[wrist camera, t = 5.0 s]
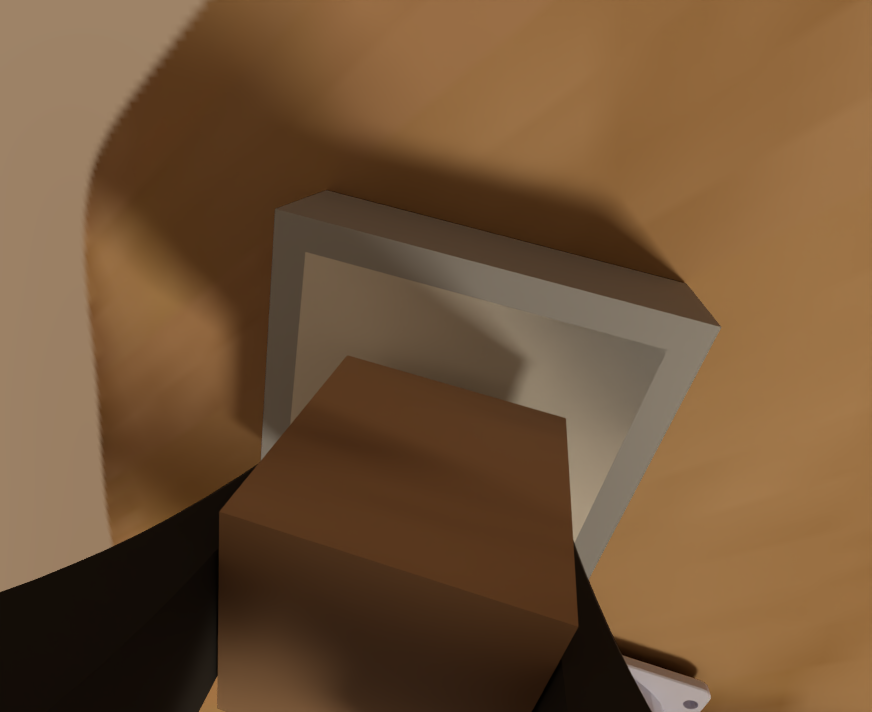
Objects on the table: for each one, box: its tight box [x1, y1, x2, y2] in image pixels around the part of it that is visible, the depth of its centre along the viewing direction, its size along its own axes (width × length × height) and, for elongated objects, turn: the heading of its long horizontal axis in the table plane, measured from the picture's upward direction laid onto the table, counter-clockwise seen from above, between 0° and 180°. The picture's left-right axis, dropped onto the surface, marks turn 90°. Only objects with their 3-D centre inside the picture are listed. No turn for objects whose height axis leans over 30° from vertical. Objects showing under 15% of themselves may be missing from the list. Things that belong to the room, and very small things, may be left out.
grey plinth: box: [261, 190, 721, 580], centre depth 15 cm, size 10×10×3 cm
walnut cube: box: [217, 355, 578, 712], centre depth 10 cm, size 5×5×5 cm
